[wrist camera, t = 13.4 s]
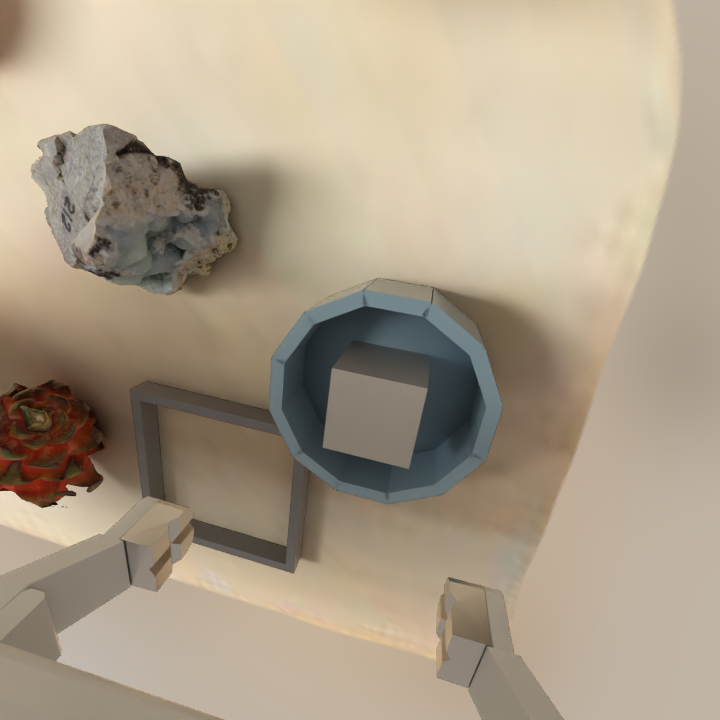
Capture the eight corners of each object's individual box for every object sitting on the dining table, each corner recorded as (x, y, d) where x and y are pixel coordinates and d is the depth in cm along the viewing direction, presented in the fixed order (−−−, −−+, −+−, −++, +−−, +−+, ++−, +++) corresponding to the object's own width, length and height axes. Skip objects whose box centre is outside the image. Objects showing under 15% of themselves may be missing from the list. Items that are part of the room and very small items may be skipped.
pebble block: (344, 406, 25) (322, 447, 20) (353, 340, 23) (331, 368, 19) (415, 423, 24) (408, 469, 20) (430, 355, 22) (427, 388, 18)
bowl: (291, 435, 28) (266, 471, 24) (305, 265, 23) (275, 273, 19) (460, 477, 26) (464, 524, 22) (514, 301, 21) (531, 319, 17)
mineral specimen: (219, 258, 30) (191, 111, 23) (255, 301, 24) (231, 126, 18) (79, 281, 25) (-2, 107, 19) (85, 340, 20) (-23, 126, 14)
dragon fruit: (107, 356, 31) (120, 450, 37) (-27, 355, 27) (12, 460, 34) (87, 426, 25) (107, 525, 31) (-92, 437, 21) (-28, 547, 27)
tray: (158, 515, 34) (146, 528, 33) (145, 381, 29) (130, 389, 28) (300, 557, 32) (293, 573, 31) (314, 421, 27) (307, 432, 25)
